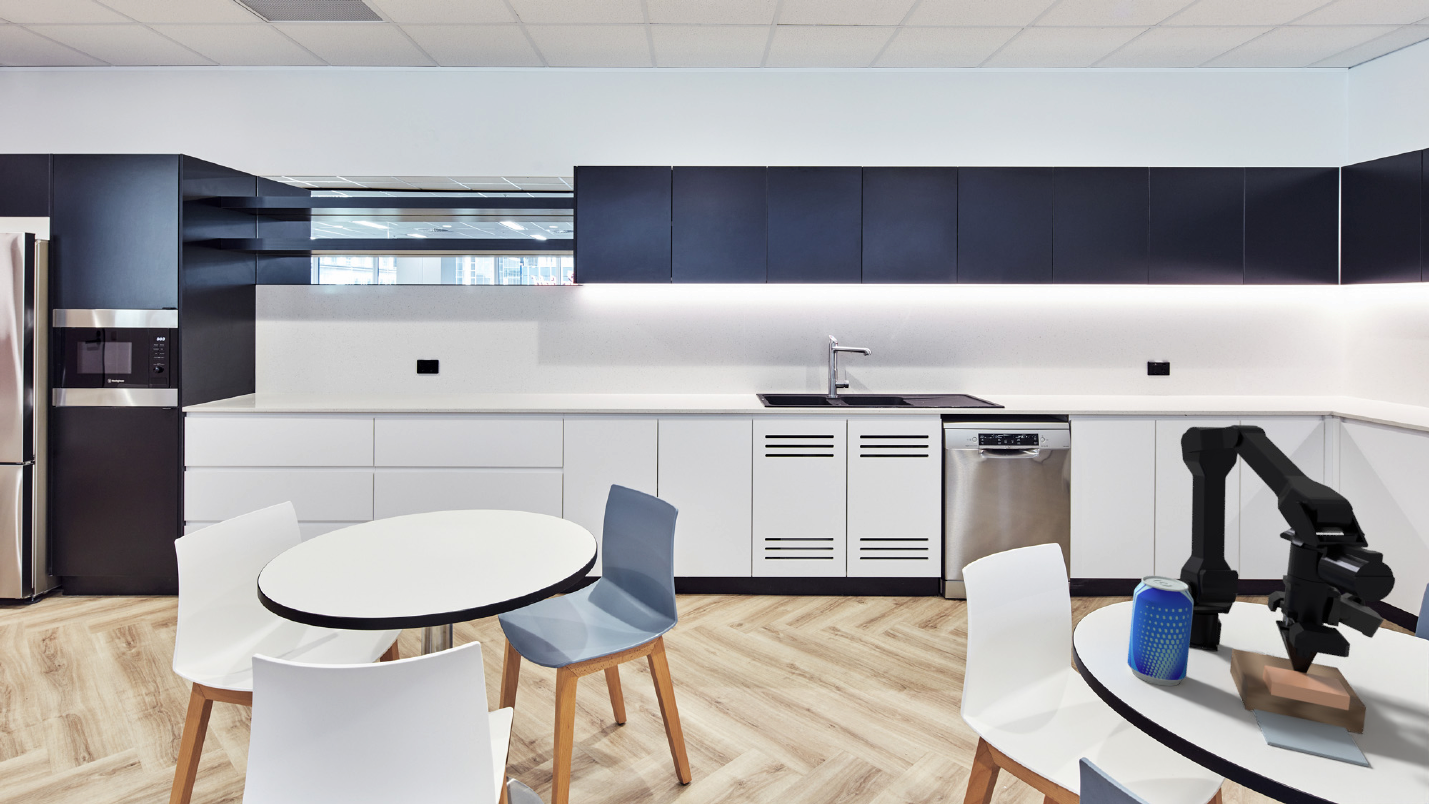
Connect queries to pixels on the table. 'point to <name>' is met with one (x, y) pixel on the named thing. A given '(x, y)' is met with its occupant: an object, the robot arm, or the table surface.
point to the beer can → (1160, 630)
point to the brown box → (1257, 696)
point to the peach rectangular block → (1306, 687)
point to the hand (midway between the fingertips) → (1299, 675)
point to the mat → (1309, 737)
